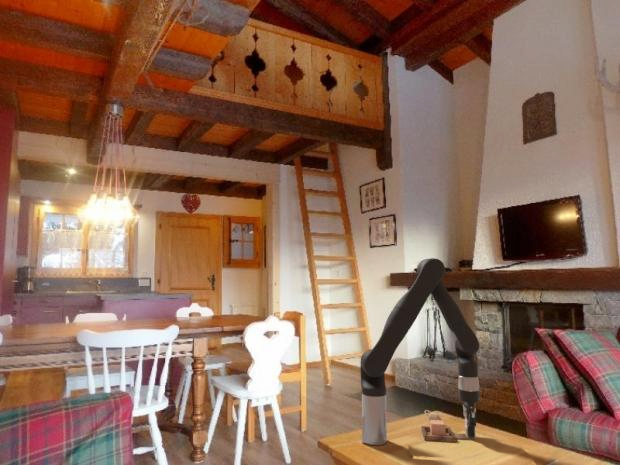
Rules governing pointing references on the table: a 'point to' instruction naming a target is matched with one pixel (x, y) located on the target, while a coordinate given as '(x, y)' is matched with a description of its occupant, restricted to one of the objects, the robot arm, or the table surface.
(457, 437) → the tray
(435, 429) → the terracotta cube
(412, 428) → the table surface
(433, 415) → the decorative ornament
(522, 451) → the table surface
